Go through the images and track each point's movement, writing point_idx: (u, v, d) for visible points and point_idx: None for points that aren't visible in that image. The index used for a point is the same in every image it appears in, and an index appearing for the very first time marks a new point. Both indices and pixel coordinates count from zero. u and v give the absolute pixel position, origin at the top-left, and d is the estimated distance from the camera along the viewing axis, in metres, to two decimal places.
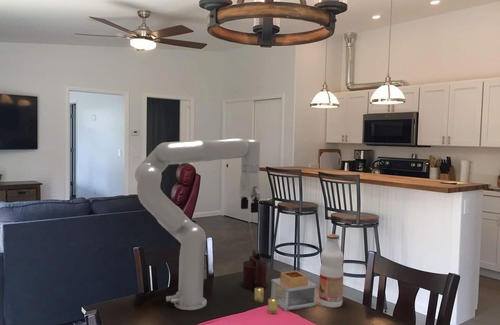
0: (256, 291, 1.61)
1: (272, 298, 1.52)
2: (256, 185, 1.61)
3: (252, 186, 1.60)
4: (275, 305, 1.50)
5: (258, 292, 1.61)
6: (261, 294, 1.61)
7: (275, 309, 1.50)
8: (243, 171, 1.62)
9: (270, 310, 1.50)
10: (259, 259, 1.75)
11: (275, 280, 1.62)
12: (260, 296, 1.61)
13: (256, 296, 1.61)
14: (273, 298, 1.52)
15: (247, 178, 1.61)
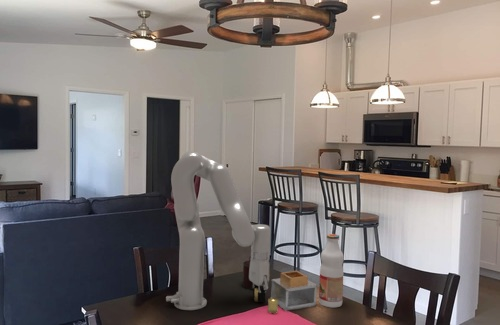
0: (256, 291, 1.61)
1: (272, 298, 1.52)
2: (266, 273, 1.58)
3: (262, 275, 1.57)
4: (275, 305, 1.50)
5: None
6: None
7: (275, 309, 1.50)
8: (253, 259, 1.60)
9: (270, 310, 1.50)
10: None
11: (275, 280, 1.62)
12: None
13: (256, 296, 1.61)
14: (273, 298, 1.52)
15: (257, 266, 1.58)
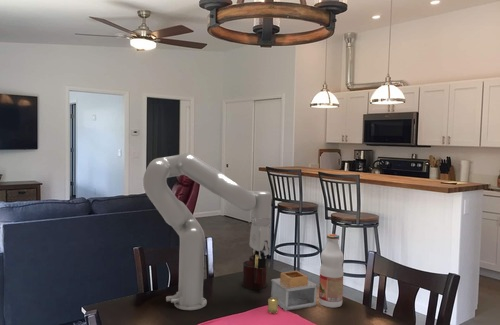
0: (256, 257, 1.61)
1: (272, 298, 1.52)
2: (267, 239, 1.58)
3: (263, 240, 1.57)
4: (275, 305, 1.50)
5: None
6: None
7: (275, 309, 1.50)
8: (254, 224, 1.59)
9: (270, 310, 1.50)
10: None
11: (275, 280, 1.62)
12: None
13: (256, 262, 1.61)
14: (273, 298, 1.52)
15: (258, 231, 1.58)
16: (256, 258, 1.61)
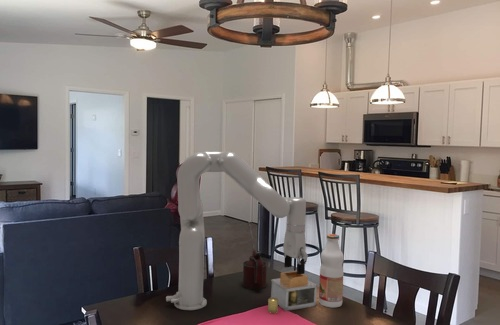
0: (290, 291, 1.60)
1: (272, 298, 1.52)
2: (303, 246, 1.56)
3: (299, 247, 1.56)
4: (275, 305, 1.50)
5: (292, 293, 1.60)
6: (295, 295, 1.60)
7: (275, 309, 1.50)
8: (289, 231, 1.58)
9: (270, 310, 1.50)
10: (259, 259, 1.75)
11: (275, 280, 1.62)
12: (294, 296, 1.60)
13: (290, 296, 1.60)
14: (273, 298, 1.52)
15: (293, 238, 1.57)
16: (290, 292, 1.61)
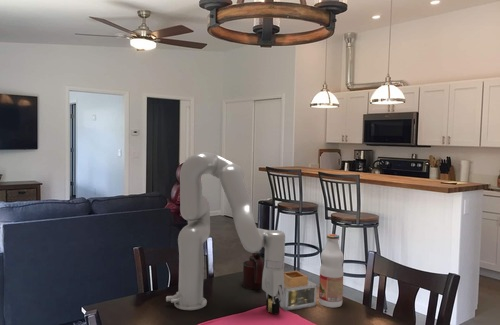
0: (290, 291, 1.61)
1: (272, 298, 1.52)
2: (281, 283, 1.47)
3: (277, 285, 1.47)
4: None
5: (292, 292, 1.60)
6: (294, 294, 1.60)
7: None
8: (266, 267, 1.49)
9: (270, 310, 1.50)
10: (259, 259, 1.75)
11: None
12: (293, 296, 1.60)
13: (289, 296, 1.61)
14: None
15: (271, 275, 1.48)
16: (289, 292, 1.61)
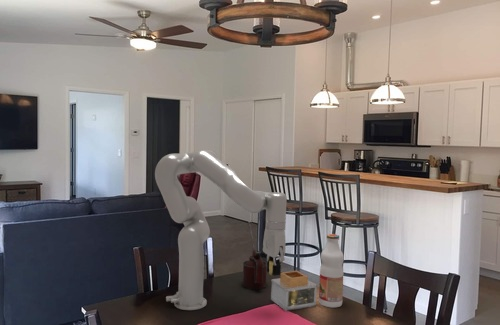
0: (290, 291, 1.61)
1: (273, 260, 1.52)
2: (282, 244, 1.47)
3: (278, 245, 1.46)
4: None
5: (291, 293, 1.60)
6: (294, 295, 1.60)
7: None
8: (268, 228, 1.48)
9: (271, 272, 1.50)
10: (259, 259, 1.75)
11: (275, 280, 1.62)
12: (293, 296, 1.60)
13: (289, 296, 1.61)
14: None
15: (272, 236, 1.47)
16: (289, 292, 1.61)
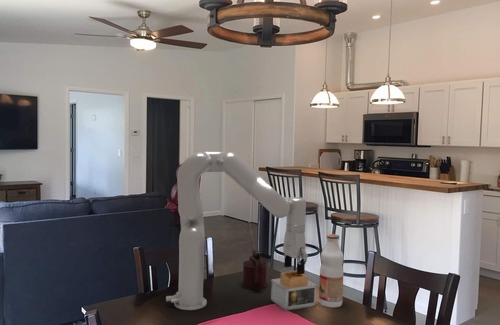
0: (289, 291, 1.61)
1: (294, 276, 1.62)
2: (303, 246, 1.56)
3: (299, 247, 1.56)
4: None
5: (290, 293, 1.60)
6: (293, 295, 1.60)
7: None
8: (289, 231, 1.58)
9: None
10: (259, 259, 1.75)
11: (275, 280, 1.62)
12: (292, 296, 1.60)
13: (289, 296, 1.61)
14: (295, 276, 1.62)
15: (293, 238, 1.57)
16: (289, 292, 1.61)
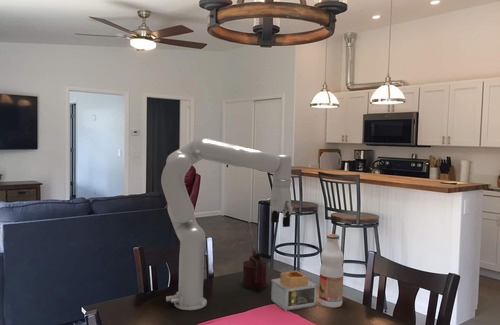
0: (289, 291, 1.61)
1: (293, 276, 1.62)
2: (288, 200, 1.63)
3: (284, 201, 1.62)
4: None
5: (290, 293, 1.60)
6: (293, 295, 1.60)
7: None
8: (275, 186, 1.65)
9: None
10: (259, 259, 1.75)
11: (275, 280, 1.62)
12: (292, 296, 1.60)
13: (289, 296, 1.61)
14: (294, 276, 1.62)
15: (279, 193, 1.63)
16: (288, 292, 1.61)
